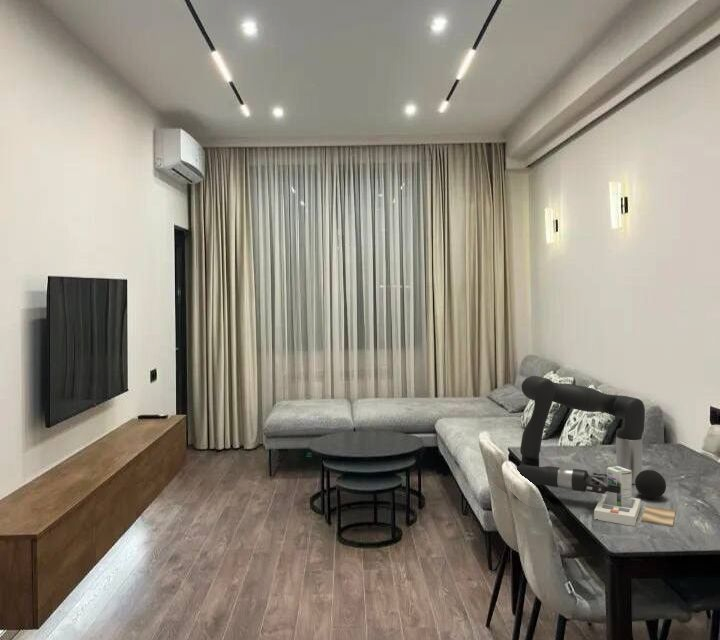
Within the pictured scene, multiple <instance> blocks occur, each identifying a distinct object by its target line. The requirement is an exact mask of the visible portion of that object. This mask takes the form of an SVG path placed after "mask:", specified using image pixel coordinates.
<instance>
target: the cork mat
mask: <svg viewBox="0 0 720 640" xmlns="http://www.w3.org/2000/svg"><path fill="white" fill-rule="evenodd" d="M675 515H676V509H671V508H662V507H656V506H650V505H645V507H644V509H643V513H642V516H641V519H640V522H643V523H649V524H653V523H655V525H659V524H663V525H662V526H665V525H669V526H668V527H671V526H673V527H674V523H675V522H674V521H675ZM673 522H674V523H673Z"/></svg>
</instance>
